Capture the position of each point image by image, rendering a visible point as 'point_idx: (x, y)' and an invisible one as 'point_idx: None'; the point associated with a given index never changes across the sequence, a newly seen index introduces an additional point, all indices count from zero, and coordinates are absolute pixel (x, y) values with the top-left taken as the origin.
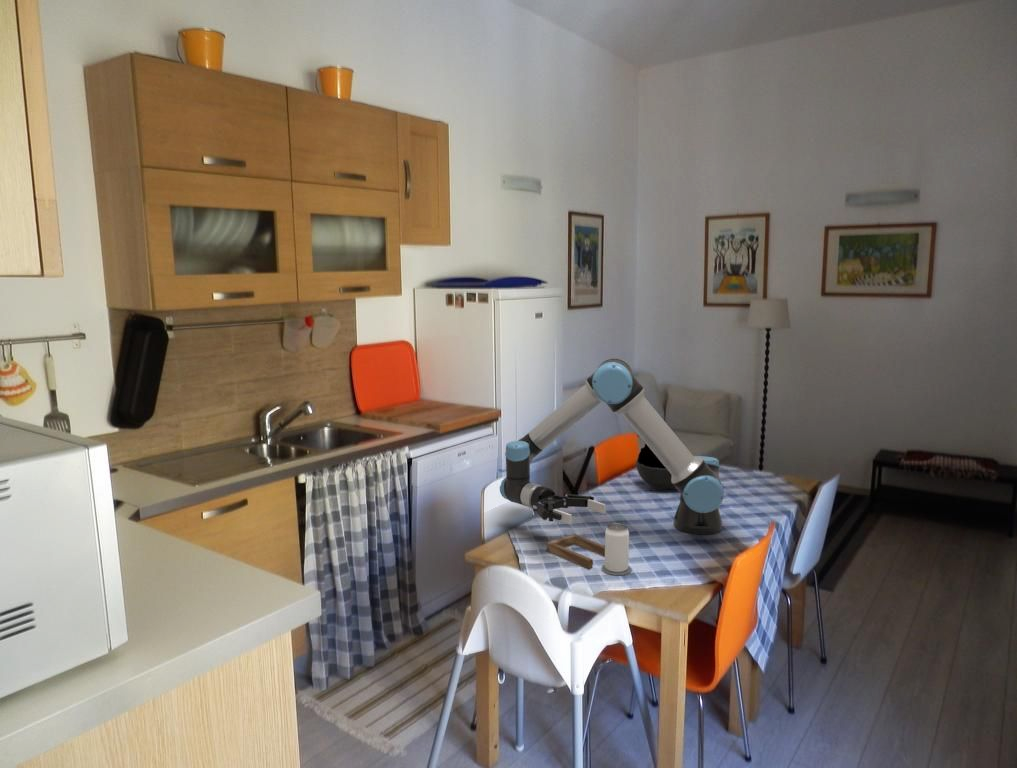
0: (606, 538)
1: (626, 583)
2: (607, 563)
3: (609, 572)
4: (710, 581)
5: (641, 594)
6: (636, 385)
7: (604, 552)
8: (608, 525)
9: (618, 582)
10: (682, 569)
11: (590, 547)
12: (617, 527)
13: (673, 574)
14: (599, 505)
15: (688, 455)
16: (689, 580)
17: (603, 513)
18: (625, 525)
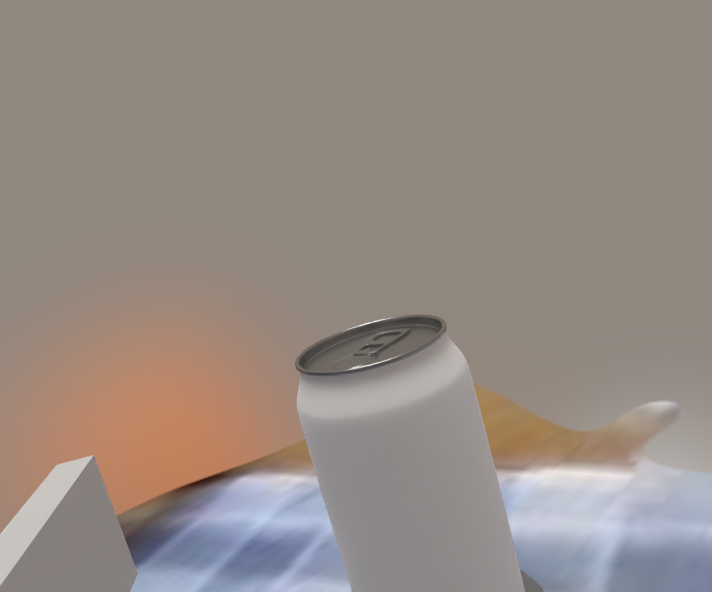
0: (476, 404)
1: (506, 505)
2: (517, 560)
3: (529, 587)
4: (202, 483)
5: (506, 440)
6: None
7: None
8: (402, 358)
9: (539, 516)
10: (164, 566)
11: None
12: (368, 348)
13: (244, 538)
14: (75, 528)
15: None
16: (250, 495)
17: (135, 574)
18: (301, 357)
